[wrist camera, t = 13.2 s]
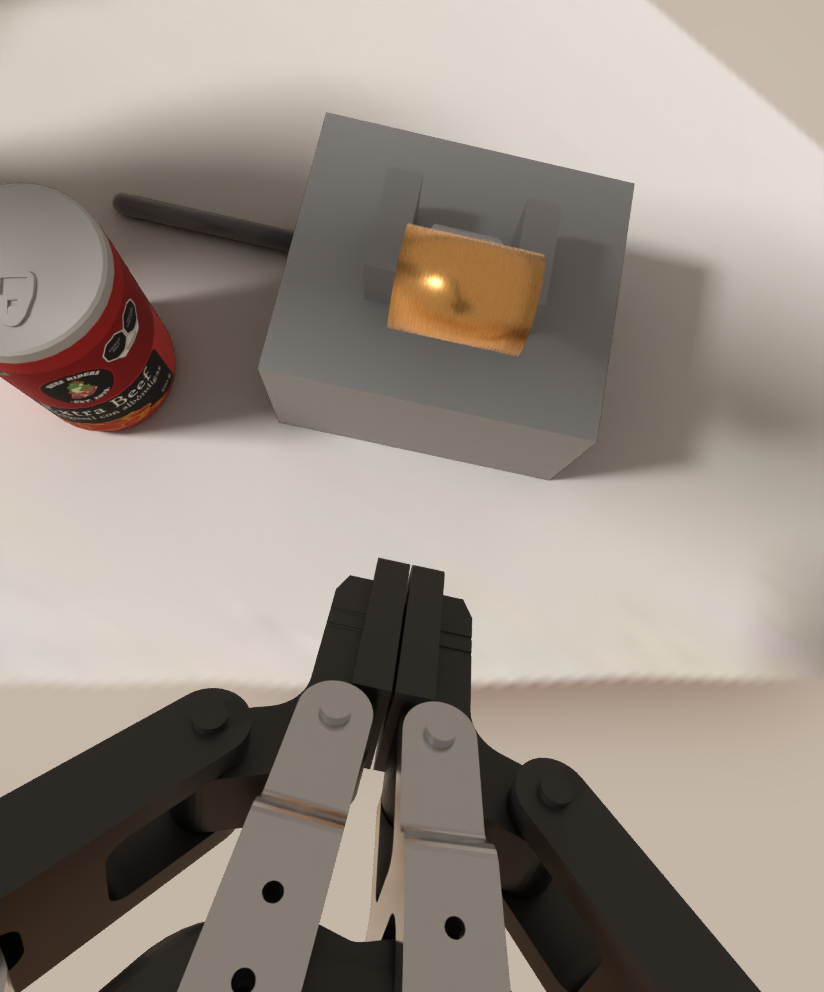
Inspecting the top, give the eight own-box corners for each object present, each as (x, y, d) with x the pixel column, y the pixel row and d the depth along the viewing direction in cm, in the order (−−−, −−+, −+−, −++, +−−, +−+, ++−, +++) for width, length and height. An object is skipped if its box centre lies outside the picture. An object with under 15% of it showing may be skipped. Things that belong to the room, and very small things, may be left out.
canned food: (61, 453, 37) (-64, 380, 26) (27, 326, 38) (-105, 206, 27) (196, 413, 38) (131, 326, 27) (159, 290, 39) (82, 161, 28)
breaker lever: (413, 275, 32) (383, 337, 19) (426, 208, 30) (404, 226, 18) (494, 293, 32) (519, 367, 19) (510, 227, 31) (550, 259, 18)
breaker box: (61, 375, 38) (-60, 273, 27) (131, 165, 40) (48, -3, 30) (548, 480, 38) (621, 422, 28) (582, 268, 41) (660, 140, 31)
